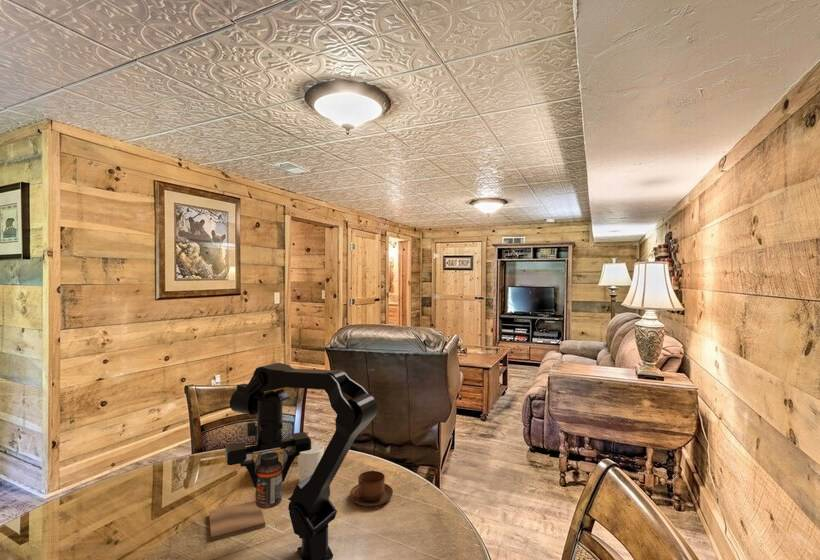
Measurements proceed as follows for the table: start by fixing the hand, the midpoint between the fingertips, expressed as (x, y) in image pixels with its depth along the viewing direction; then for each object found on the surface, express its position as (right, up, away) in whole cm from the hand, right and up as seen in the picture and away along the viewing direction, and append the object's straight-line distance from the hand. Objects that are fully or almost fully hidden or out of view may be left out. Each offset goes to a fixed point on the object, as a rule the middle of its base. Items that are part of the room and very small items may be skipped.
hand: (269, 483), depth 95 cm
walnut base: (-10, -13, +7) cm, 18 cm away
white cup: (+3, -13, +28) cm, 31 cm away
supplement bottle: (0, -5, 0) cm, 5 cm away
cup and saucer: (+23, -13, +18) cm, 32 cm away
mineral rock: (-12, -13, +32) cm, 37 cm away
